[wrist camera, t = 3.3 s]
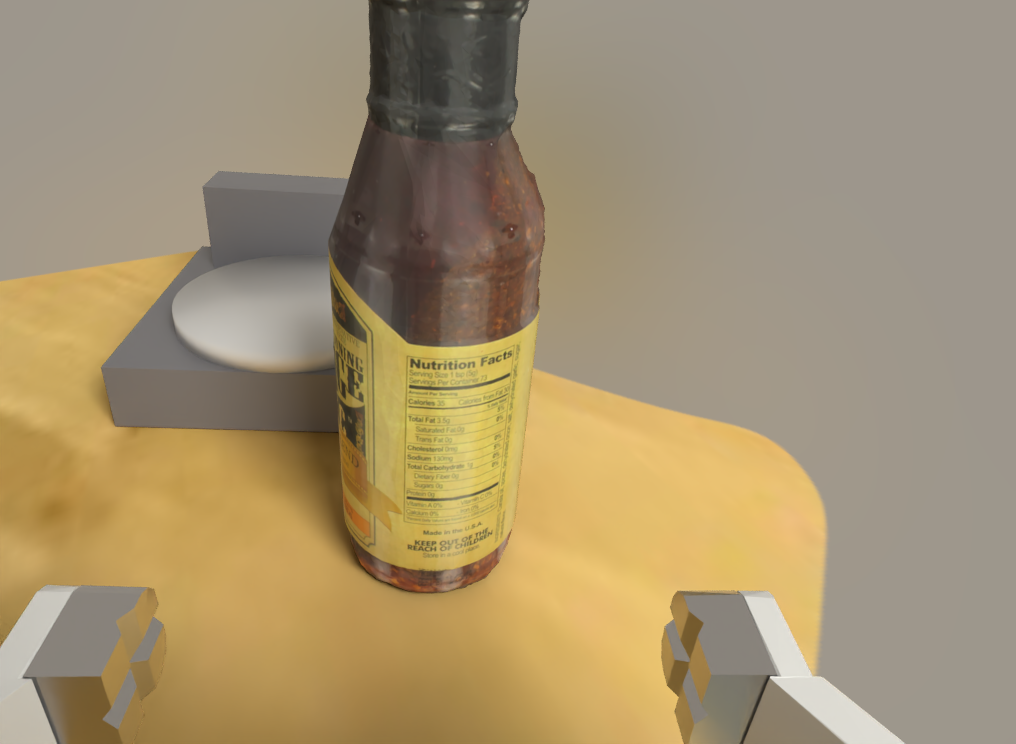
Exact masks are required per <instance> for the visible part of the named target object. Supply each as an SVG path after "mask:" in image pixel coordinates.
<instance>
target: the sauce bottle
mask: <svg viewBox="0 0 1016 744" xmlns="http://www.w3.org/2000/svg"><path fill="white" fill-rule="evenodd" d="M528 2H529V0H369V29H370V51H371V53H370V65H371V67H370V89H369V94H368V96H367V98H366V100H367V104H368V110H369V115H368V119H367V122H366V125H365V128H364V132H363V135H362V138H361V141H360V144H359V148H358V151H357V154H356V158H355V161H354V164H353V167H352V171H351V174H350V177H349V180H348V184H347V187H346V190H345V194H344V197H343V200H342V203H341V206H340V208H339V211H338V214H337V217H336V220H335V223H334V226H333V228H332V231H331V234H330V237H329V240H328V249H329V268H330V287H331V303H332V319H333V335H334V340H333V348H334V359H335V372H336V386H337V405H338V424H339V442H340V458H341V474H342V490H343V506H344V517H345V523H346V525H347V528H348V530H349V531H350V534H351V542H352V544H353V547H354V550H355V553H356V556H357V557H358V559H359V561H360V563H361V565H362V566H363V567H364V568H365V569H366V571H367V572H368V573H370V574H371V575H372V576H374V577H375V578H376V579H377V580H381V581H384V582H388V583H390V584H392V585H393V586H396V587H399V588H402V589H404V590H406V591H411V592H425V593H436V592H448V591H450V590H454V589H456V588H465V587H466V586H467V585H471V584H472V583H474V582H478V581H480V580H482V579H484V578H486V577H487V575H488V574H489V573H490V572H491V570H492V569H493V568H494V567H495V566H496V565H497V564H498V563H499V560H500V558H501V556H502V554H503V552H504V550H505V548H506V545H507V544H508V540H509V537H510V534H511V530H512V526H513V523H514V520H515V516H516V508H517V498H518V488H519V480H520V473H521V464H522V456H523V448H524V439H525V431H526V422H527V414H528V405H529V397H530V388H531V379H532V371H533V362H534V353H535V345H536V336H537V327H538V318H539V298H540V295H539V288H538V282H539V276H540V262H541V256H542V251H543V246H544V241H545V236H544V232H545V230H544V210H545V208H544V205H543V202H542V199H541V196H540V193H539V191H538V187H537V184H536V180H535V176H534V174H533V173H531V172H530V171H528V169H527V166H526V165H525V164H524V162H523V159H522V156H521V153H520V151H519V146H518V144H517V142H516V140H515V138H514V136H513V135H512V131H511V125H512V123H513V122H514V119H515V115H516V111H517V107H518V101H517V99H516V97H515V84H516V73H517V59H518V43H519V34H520V22H521V19H522V17H523V16H524V14H525V12H526V11H527V8H528Z"/></svg>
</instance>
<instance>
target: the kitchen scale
mask: <svg viewBox="0 0 1016 744" xmlns="http://www.w3.org/2000/svg"><path fill="white" fill-rule="evenodd" d="M348 180H349V179H343V178H326V177H309V176H292V175H276V174H258V173H242V172H223V171H219V172H217V173H216V174H215V175H214V176H213V177H212V178H211V179H210V180H209V181H208V182H207V183H206V184H205V185H204V186H203V194H204V201H205V207H206V215H207V223H208V229H209V237H210V244H211V247H201V249H200V250H199V251H198V252H197V253H196V254H195V255H194V257H193V258H192V259H191V260H190V261H189V263H188V264H187V265H186V266H185V267H184V269H183V270H182V271H181V272H180V273H179V275H178V276H177V277H176V278H175V279H174V281H173V282H172V283H171V284H170V285H169V287H168V288H167V289H166V290H165V291H164V293H163V294H162V295H161V296H160V297H159V299H158V300H157V301H156V302H155V303H154V305H153V306H152V307H151V308H150V309H149V311H148V312H147V313H146V314H145V315H144V317H143V318H142V319H141V320H140V321H139V323H138V324H137V325H136V326H135V327H134V328H133V330H132V331H131V332H130V333H129V334H128V336H127V337H126V338H125V339H124V340H123V342H122V343H121V344H120V345H119V346H118V348H117V349H116V350H115V351H114V352H113V354H112V355H111V356H110V357H109V358H108V360H107V361H106V362H105V363H104V364H103V366H102V367H101V369H102V373H103V378H104V382H105V386H106V390H107V394H108V398H109V403H110V407H111V411H112V415H113V419H114V423H115V426H128V427H164V428H200V429H237V430H273V431H309V432H339V424H338V405H337V386H336V372H335V359H334V348H333V340H334V335H333V319H332V303H331V287H330V268H329V249H328V240H329V237H330V234H331V231H332V228H333V226H334V223H335V220H336V217H337V214H338V211H339V208H340V206H341V203H342V200H343V197H344V194H345V190H346V187H347V184H348Z"/></svg>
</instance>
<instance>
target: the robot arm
mask: <svg viewBox="0 0 1016 744" xmlns="http://www.w3.org/2000/svg"><path fill="white" fill-rule="evenodd" d="M157 607H158V601H157V597H156V594H155V591H154V589H152V588H146V587H115V586H85V585H81V586H70V585H46V586H44V587H43V588H42V589H40V590H39V591H38V592H36V593H35V595H34V596H33V598H32V599H31V601H30V602H29V604H28V605H27V607H26V608H25V610H24V612H23V613H22V615H21V616H20V618H19V619H18V621H17V622H16V624H15V625H14V627H13V628H12V630H11V631H10V633H9V634H8V636H7V637H6V639H5V641H4V642H3V644H2V645H1V647H0V744H133V742H134V740H135V737H136V735H137V732H138V730H139V727H140V725H141V723H142V720H143V718H144V712H143V708H142V704H141V700H142V699H143V698H144V697H145V696H147V695H148V694H149V693H150V692H151V691H153V690H154V689H155V688H156V686H157V683H158V680H159V678H160V675H161V673H162V670H163V664H164V659H165V654H166V634H165V629H164V625H163V624H162V623H161V622H160V621H158V620H157V619H156V618H155V617H153V616H154V613H155V611H156V609H157ZM670 609H671V612H672V615H673V618H674V619H673V620H672V621H671V622H670V623H668V624H667V625H666V626H665V628H664V633H663V637H662V655H661V658H662V665H663V671H664V675H665V679H666V683H667V686H668V687H669V688H670V689H671V690H672V691H673V692H674V693H675V694H676V695H677V696H678V697H679V698H678V701H677V705H676V708H675V715H676V718H677V722H678V725H679V729H680V732H681V736H682V739H683V742H684V744H905V743H904V742H902V741H901V740H900V739H899V738H897V737H896V736H895V735H894V734H893V733H891V732H890V731H889V730H887V729H886V728H885V727H884V726H883V725H881V724H880V723H879V722H878V721H876V720H875V719H874V718H873V717H871V716H870V715H869V714H868V713H867V712H865V711H864V710H863V709H861V708H860V707H859V706H858V705H857V704H855V703H854V702H853V701H852V700H850V699H849V698H848V697H846V696H845V695H844V694H843V693H842V692H840V691H839V690H838V689H837V688H836V687H834V686H833V685H832V684H831V683H829V682H828V681H827V680H826V679H824V678H823V677H820V676H812V674H811V672H810V669H809V667H808V665H807V663H806V661H805V659H804V657H803V655H802V653H801V651H800V649H799V647H798V645H797V643H796V641H795V639H794V637H793V635H792V633H791V631H790V629H789V627H788V625H787V623H786V621H785V619H784V617H783V615H782V613H781V611H780V609H779V607H778V605H777V603H776V600H775V598H774V596H773V595H772V594H771V593H769V592H768V591H737V592H736V591H677V592H676V593H675V595H674V596H673V599H672V602H671V606H670Z"/></svg>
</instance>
